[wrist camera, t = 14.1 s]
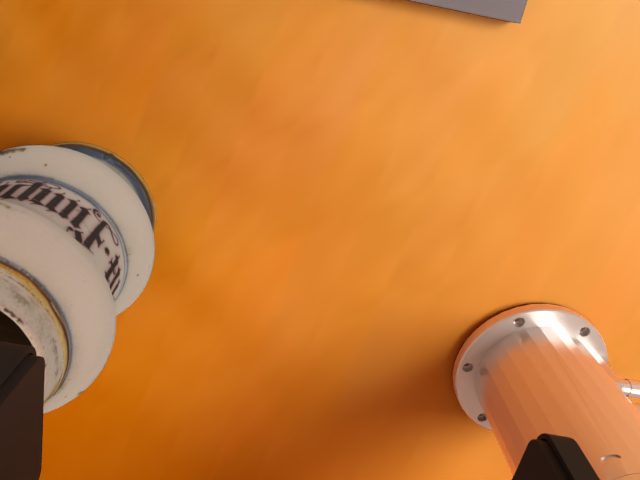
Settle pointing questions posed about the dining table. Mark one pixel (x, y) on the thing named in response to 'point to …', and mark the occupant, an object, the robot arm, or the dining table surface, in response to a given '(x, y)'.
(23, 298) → the apothecary jar
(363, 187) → the dining table surface
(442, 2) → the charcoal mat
